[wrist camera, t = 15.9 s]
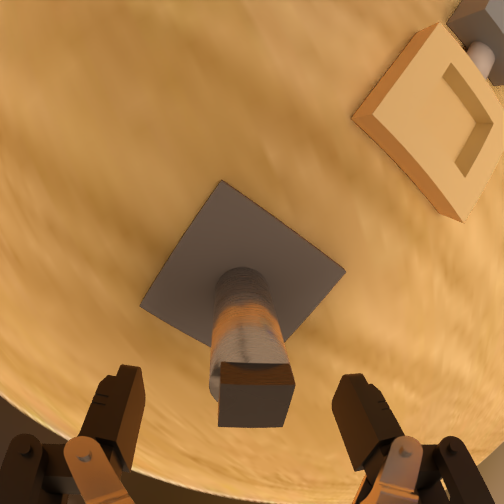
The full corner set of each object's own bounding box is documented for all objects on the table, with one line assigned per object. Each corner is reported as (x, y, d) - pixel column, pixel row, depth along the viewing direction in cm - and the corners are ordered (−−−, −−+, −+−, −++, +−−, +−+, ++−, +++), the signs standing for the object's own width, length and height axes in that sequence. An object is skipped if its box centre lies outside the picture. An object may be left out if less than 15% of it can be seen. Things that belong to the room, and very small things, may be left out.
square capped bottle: (217, 264, 18) (208, 374, 9) (271, 268, 18) (308, 376, 9) (214, 312, 19) (207, 431, 10) (264, 315, 20) (290, 431, 10)
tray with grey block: (439, 213, 19) (482, 231, 14) (350, 118, 16) (390, 111, 11) (522, 40, 13) (552, 36, 8) (466, -32, 10) (494, -45, 6)
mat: (141, 302, 19) (139, 306, 19) (221, 179, 17) (221, 180, 16) (256, 365, 22) (257, 370, 21) (343, 268, 19) (346, 271, 19)
